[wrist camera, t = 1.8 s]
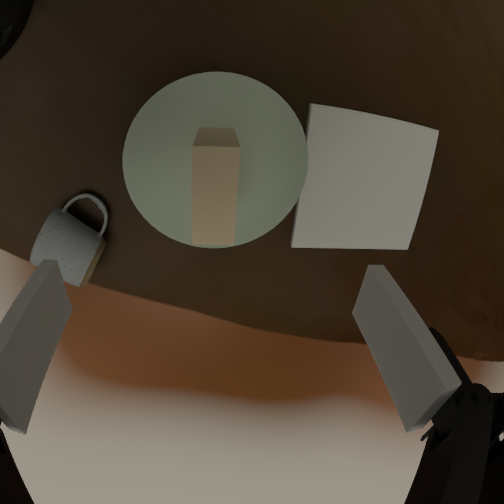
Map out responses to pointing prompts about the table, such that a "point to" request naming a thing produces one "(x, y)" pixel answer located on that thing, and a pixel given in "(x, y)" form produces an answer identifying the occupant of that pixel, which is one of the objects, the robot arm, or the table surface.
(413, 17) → the table surface
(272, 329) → the table surface
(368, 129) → the mat
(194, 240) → the lid
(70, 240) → the ceramic mug
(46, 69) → the table surface
